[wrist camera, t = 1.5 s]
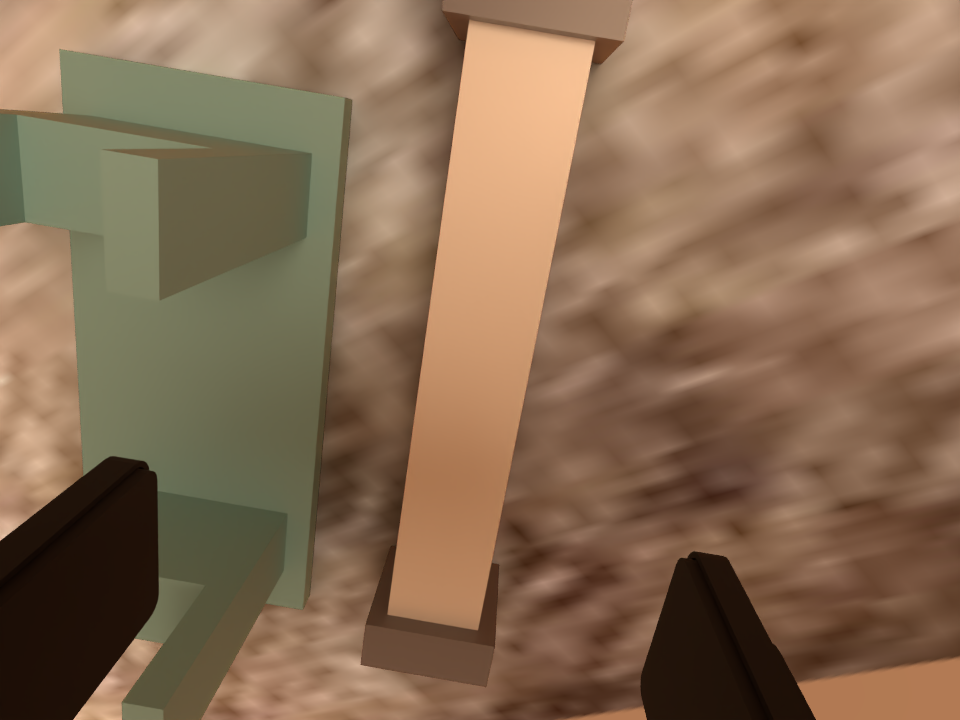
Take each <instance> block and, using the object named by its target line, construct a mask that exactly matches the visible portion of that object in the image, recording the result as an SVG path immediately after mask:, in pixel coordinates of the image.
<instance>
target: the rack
mask: <svg viewBox="0 0 960 720" xmlns="http://www.w3.org/2000/svg"><path fill="white" fill-rule="evenodd" d="M59 51H60V69H61V87H62V104H63V114H62V113H47V112H33V111H18V110H4V109H0V226H5V225H11V224H17V223H24V222H27V223H32V224H38V225H44V226H50V227H56V228H62V229H67V230H70V246H71V264H72V282H73V299H74V317H75V335H76V353H77V370H78V388H79V406H80V424H81V441H82V459H83V476H84V475H85V474H87V473H88V472H89V471H90V470H92V469H93V468H94V467H96V466H97V465H98V464H99V463H101V462H102V461H103V460H105V459H106V458H108V457H110V456H117V457H123V458H129V459H135V460H141V461H145V462H146V463H147V464H148V466H149V470H150V471H154V472H156V475H157V480H158V558H159V598H158V602H157V605H156V608H155V610H154V612H153V614H152V616H151V617H150V619H149V620H148V621H147V623H146V624H145V625H144V627H143V628H142V629H141V631H140V632H139V633H138V634H137V636H136V637H135V639H141V640H147V641H152V642H158V643H164V644H163V646H162V647H161V648H160V650H159V651H158V652H157V654H156V655H155V657H154V658H153V659H152V661H151V662H150V664H149V665H148V666H147V668H146V669H145V671H144V672H143V673H142V675H141V676H140V678H139V679H138V680H137V682H136V683H135V685H134V686H133V687H132V689H131V690H130V692H129V693H128V694H127V696H126V697H125V699H124V700H123V701H122V720H201V718H202V716H203V715H204V713H205V711H206V709H207V707H208V706H209V704H210V702H211V700H212V698H213V697H214V695H215V693H216V691H217V689H218V688H219V686H220V684H221V682H222V681H223V679H224V677H225V675H226V673H227V672H228V670H229V668H230V666H231V664H232V663H233V661H234V659H235V657H236V655H237V654H238V652H239V650H240V648H241V646H242V645H243V643H244V641H245V639H246V637H247V636H248V634H249V632H250V630H251V629H252V627H253V625H254V623H255V621H256V620H257V618H258V616H259V614H260V612H261V611H262V609H263V607H264V605H265V604H271V605H277V606H282V607H288V608H294V609H300V610H303V609H304V607H305V604H306V602H307V600H308V598H309V596H310V587H311V575H312V564H313V552H314V540H315V529H316V517H317V505H318V494H319V482H320V471H321V459H322V447H323V436H324V424H325V412H326V401H327V389H328V377H329V366H330V354H331V342H332V331H333V319H334V308H335V296H336V284H337V273H338V261H339V249H340V238H341V226H342V214H343V203H344V191H345V180H346V168H347V156H348V145H349V133H350V121H351V110H352V100H351V99H348V98H343V97H338V96H332V95H326V94H320V93H314V92H308V91H302V90H296V89H291V88H285V87H279V86H273V85H267V84H261V83H255V82H249V81H243V80H238V79H232V78H226V77H220V76H214V75H208V74H202V73H196V72H191V71H185V70H179V69H173V68H167V67H161V66H155V65H149V64H144V63H138V62H132V61H126V60H120V59H114V58H108V57H102V56H96V55H91V54H85V53H79V52H73V51H67V50H61V49H59Z"/></svg>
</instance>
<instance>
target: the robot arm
mask: <svg viewBox="0 0 960 720" xmlns="http://www.w3.org/2000/svg"><path fill="white" fill-rule="evenodd" d="M158 598H159V558H158V480H157V475H156V472H154V471H150V470H149V466H148V464H147V463H146V462H145V461H141V460H135V459H129V458H123V457H117V456H110V457H108V458H106V459H105V460H103V461H102V462H101V463H99V464H98V465H97V466H96V467H94V468H93V469H92V470H90V471H89V472H88V473H87V474H85V475H84V476H83V477H81V478H80V479H79V480H78V481H76V482H75V483H74V484H73V485H71V486H70V487H69V488H67V489H66V490H65V491H64V492H62V493H61V494H60V495H58V496H57V497H56V498H55V499H53V500H52V501H51V502H50V503H48V504H47V505H46V506H44V507H43V508H42V509H41V510H39V511H38V512H37V513H35V514H34V515H33V516H32V517H30V518H29V519H28V520H26V521H25V522H24V523H23V524H21V525H20V526H19V527H18V528H16V529H15V530H14V531H12V532H11V533H10V534H9V535H7V536H6V537H5V538H3V539H2V540H1V541H0V720H73V719H74V718H75V716H76V715H77V714H78V712H79V711H80V710H81V708H82V707H83V706H84V704H85V703H86V702H87V701H88V699H89V698H90V697H91V695H92V694H93V693H94V691H95V690H96V689H97V687H98V686H99V685H100V683H101V682H102V681H103V679H104V678H105V677H106V675H107V674H108V673H109V671H110V670H111V669H112V667H113V666H114V665H115V664H116V662H117V661H118V660H119V658H120V657H121V656H122V654H123V653H124V652H125V650H126V649H127V648H128V646H129V645H130V644H131V642H132V641H133V640H134V638H135V637H136V636H137V634H138V633H139V632H140V631H141V629H142V628H143V627H144V625H145V624H146V623H147V621H148V620H149V619H150V617H151V616H152V614H153V612H154V610H155V608H156V605H157V602H158ZM641 696H642V700H643V705H644V709H645V713H646V717H647V720H816V719H815V717H814V715H813V713H812V711H811V709H810V707H809V706H808V704H807V702H806V700H805V698H804V696H803V694H802V692H801V690H800V689H799V687H798V685H797V683H796V681H795V679H794V677H793V675H792V673H791V672H790V670H789V668H788V666H787V664H786V662H785V660H784V658H783V657H782V655H781V653H780V651H779V650H778V649H777V647H776V646H775V645H774V644H772V642H771V640H770V638H769V636H768V634H767V632H766V631H765V629H764V627H763V625H762V623H761V621H760V619H759V617H758V615H757V613H756V611H755V610H754V608H753V606H752V604H751V602H750V600H749V598H748V596H747V594H746V592H745V590H744V588H743V587H742V585H741V583H740V581H739V579H738V577H737V575H736V573H735V571H734V569H733V567H732V566H731V564H730V562H729V560H728V559H727V558H726V557H724V556H719V555H713V554H707V553H701V552H695V551H693V552H691V553H690V554H689V556H688V558H687V559H686V558H680V559H679V560H678V562H677V564H676V567H675V570H674V573H673V577H672V580H671V583H670V586H669V589H668V592H667V595H666V599H665V602H664V605H663V608H662V611H661V614H660V617H659V621H658V624H657V627H656V630H655V633H654V636H653V639H652V643H651V646H650V649H649V652H648V655H647V658H646V661H645V665H644V668H643V671H642V675H641Z"/></svg>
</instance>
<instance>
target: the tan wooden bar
mask: <svg viewBox="0 0 960 720" xmlns="http://www.w3.org/2000/svg"><path fill="white" fill-rule="evenodd" d="M632 1H633V0H443V6H442V11H443V13H444V15H445V17H446V18H447V20H448V22H449V24H450V25H451V27H452V29H453V30H454V32H455V34H456V36H457V37H458V39H459V40H464V41H466V47H465V55H464V62H463V69H462V76H461V84H460V91H459V98H458V105H457V113H456V120H455V127H454V135H453V142H452V149H451V156H450V164H449V171H448V178H447V185H446V193H445V200H444V207H443V214H442V222H441V229H440V236H439V243H438V251H437V258H436V265H435V272H434V280H433V287H432V294H431V301H430V309H429V316H428V323H427V330H426V338H425V345H424V352H423V359H422V367H421V374H420V381H419V388H418V396H417V403H416V410H415V417H414V425H413V432H412V439H411V446H410V454H409V461H408V468H407V475H406V483H405V490H404V497H403V504H402V512H401V519H400V526H399V533H398V541H397V547H395V546H391V547H390V550H389V553H388V557H387V560H386V563H385V566H384V569H383V572H382V575H381V578H380V581H379V584H378V587H377V591H376V594H375V597H374V600H373V603H372V606H371V609H370V612H369V615H368V618H367V621H366V625H365V633H364V641H363V649H362V657H361V665H364V666H370V667H375V668H381V669H387V670H392V671H398V672H404V673H409V674H415V675H421V676H427V677H432V678H438V679H444V680H449V681H455V682H461V683H467V684H472V685H478V686H484V687H486V686H487V682H488V677H489V672H490V667H491V663H492V658H493V653H494V649H495V634H496V615H497V595H498V576H499V565H498V564H493V563H491V562H492V557H493V552H494V547H495V542H496V537H497V532H498V527H499V522H500V517H501V512H502V507H503V502H504V497H505V492H506V487H507V482H508V477H509V472H510V467H511V462H512V457H513V452H514V447H515V442H516V437H517V432H518V427H519V422H520V417H521V412H522V407H523V402H524V397H525V392H526V387H527V382H528V377H529V372H530V367H531V362H532V357H533V352H534V347H535V342H536V337H537V332H538V327H539V322H540V317H541V312H542V307H543V302H544V297H545V292H546V286H547V281H548V276H549V271H550V266H551V261H552V256H553V251H554V246H555V241H556V236H557V231H558V226H559V221H560V216H561V211H562V206H563V201H564V196H565V191H566V186H567V181H568V176H569V171H570V166H571V161H572V156H573V151H574V146H575V141H576V136H577V131H578V126H579V121H580V116H581V111H582V106H583V101H584V96H585V91H586V86H587V81H588V76H589V71H590V66H591V62H594V63H600V64H602V63H603V62H604V61H605V60H606V59H607V58H608V57H609V56H610V55H611V54H612V53H613V52H614V51H615V50H616V49H617V48H618V47H619V46H620V45H621V44H622V43H623V42H624V38H625V34H626V29H627V24H628V20H629V15H630V10H631V5H632Z"/></svg>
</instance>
